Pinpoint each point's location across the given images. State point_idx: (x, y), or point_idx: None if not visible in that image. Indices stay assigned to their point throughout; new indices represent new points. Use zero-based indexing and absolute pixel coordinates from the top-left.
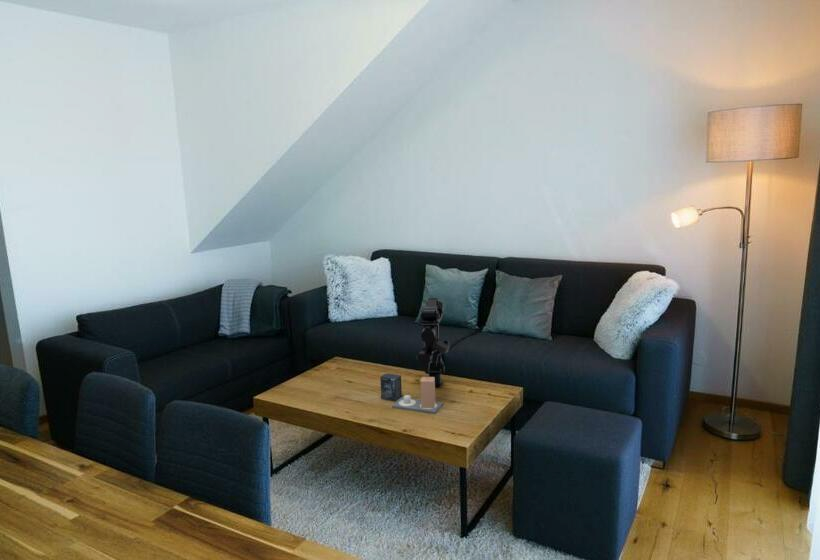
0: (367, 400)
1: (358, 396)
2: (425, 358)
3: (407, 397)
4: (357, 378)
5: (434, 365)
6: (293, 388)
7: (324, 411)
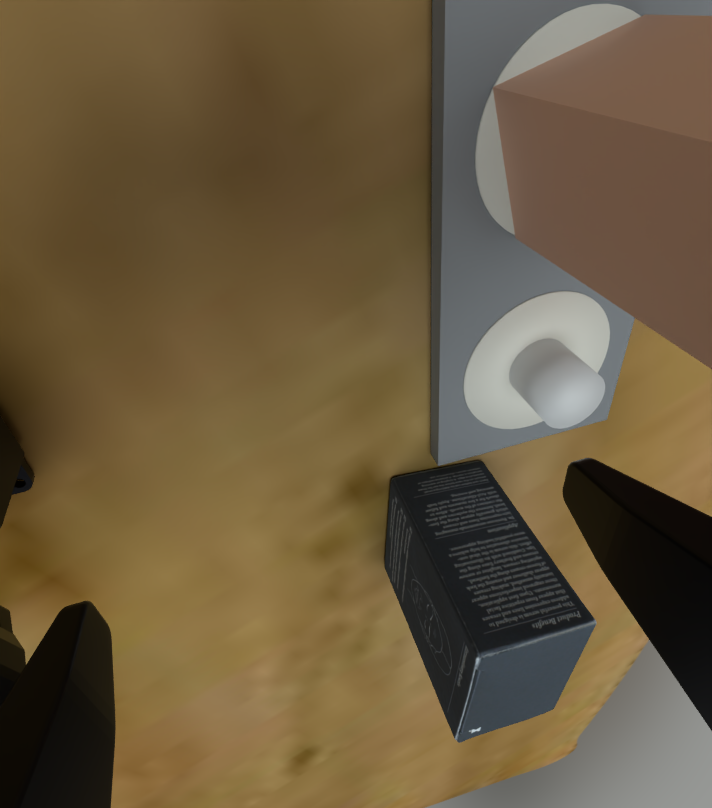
0: None
1: None
2: None
3: (602, 381)
4: (243, 771)
5: (101, 632)
6: (462, 776)
7: None
